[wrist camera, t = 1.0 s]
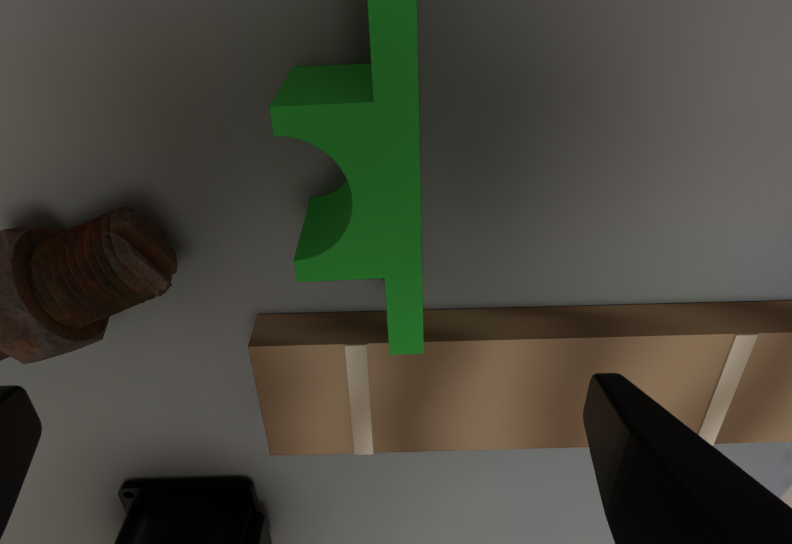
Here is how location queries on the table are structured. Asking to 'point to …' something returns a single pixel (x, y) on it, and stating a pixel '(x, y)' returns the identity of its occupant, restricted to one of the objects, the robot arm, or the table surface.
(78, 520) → the table surface
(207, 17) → the table surface
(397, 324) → the pipe clamp
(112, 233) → the bolt
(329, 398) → the brown wooden plank
